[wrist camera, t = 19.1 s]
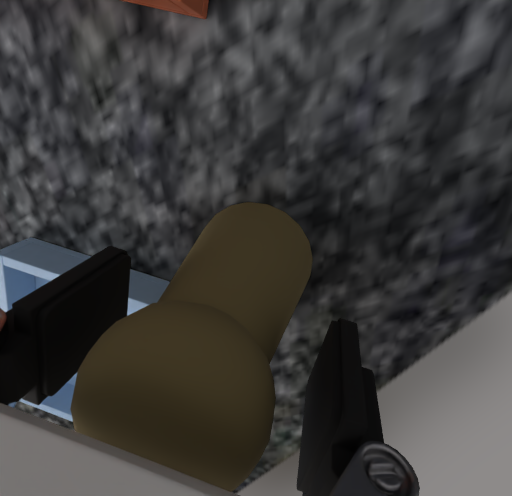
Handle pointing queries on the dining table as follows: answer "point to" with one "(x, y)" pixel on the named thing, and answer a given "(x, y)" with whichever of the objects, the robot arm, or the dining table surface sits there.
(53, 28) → the dining table surface
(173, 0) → the terracotta tray
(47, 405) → the blue tray
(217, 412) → the cork
